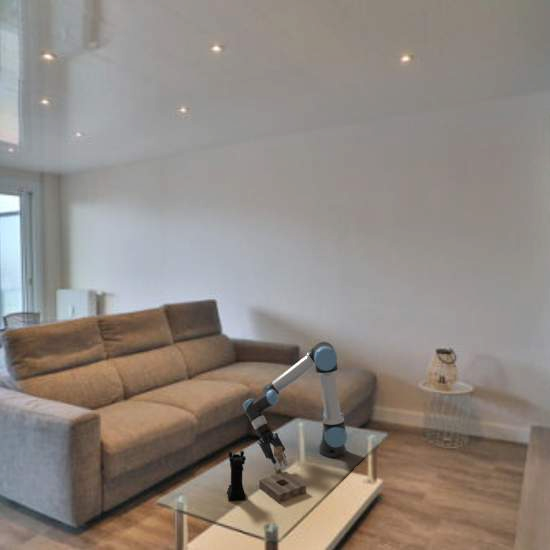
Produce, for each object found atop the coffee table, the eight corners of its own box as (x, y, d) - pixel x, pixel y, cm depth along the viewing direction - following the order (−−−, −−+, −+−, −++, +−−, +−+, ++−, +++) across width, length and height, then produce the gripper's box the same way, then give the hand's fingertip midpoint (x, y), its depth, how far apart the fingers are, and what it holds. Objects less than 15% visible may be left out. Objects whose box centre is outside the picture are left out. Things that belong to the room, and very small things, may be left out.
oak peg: (278, 469, 250) (279, 445, 249) (283, 472, 246) (284, 448, 246) (271, 471, 247) (272, 447, 246) (276, 475, 244) (277, 450, 243)
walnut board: (285, 479, 240) (285, 471, 240) (306, 493, 227) (306, 484, 227) (259, 488, 230) (259, 480, 230) (279, 503, 218) (279, 494, 217)
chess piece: (228, 501, 218) (229, 459, 217) (226, 492, 226) (227, 451, 225) (245, 500, 220) (246, 458, 218) (243, 491, 228) (244, 450, 226)
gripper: (269, 425, 263) (291, 464, 253) (245, 434, 250) (267, 476, 240) (276, 418, 259) (298, 458, 248) (252, 427, 246) (274, 469, 236)
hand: (283, 466), depth 244 cm, fingers open, 5 cm apart
